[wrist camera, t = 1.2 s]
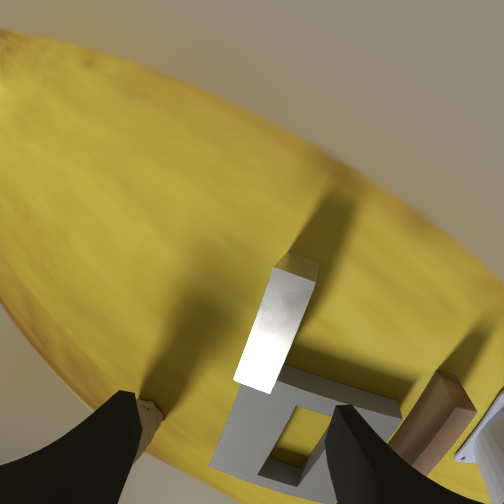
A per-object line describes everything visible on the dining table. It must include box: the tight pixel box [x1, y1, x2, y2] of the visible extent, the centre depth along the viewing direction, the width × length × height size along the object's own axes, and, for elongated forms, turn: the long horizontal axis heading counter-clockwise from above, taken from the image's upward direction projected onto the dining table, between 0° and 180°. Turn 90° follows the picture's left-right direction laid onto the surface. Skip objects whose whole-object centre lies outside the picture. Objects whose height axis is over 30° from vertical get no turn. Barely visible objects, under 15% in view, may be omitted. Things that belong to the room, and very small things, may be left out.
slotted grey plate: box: [209, 363, 402, 504], centre depth 21 cm, size 12×11×2 cm
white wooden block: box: [234, 251, 320, 394], centre depth 19 cm, size 2×7×6 cm, turn 161°
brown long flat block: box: [337, 370, 477, 504], centre depth 19 cm, size 2×18×5 cm, turn 162°
